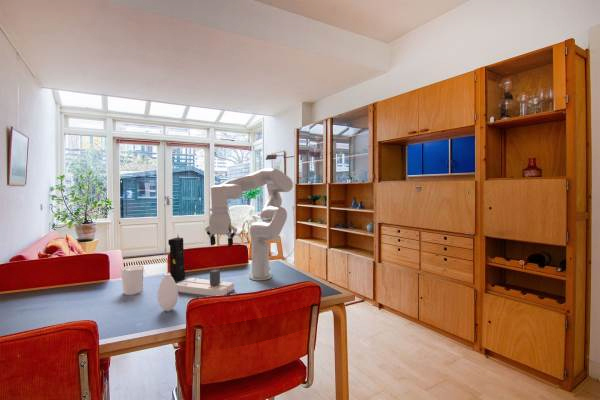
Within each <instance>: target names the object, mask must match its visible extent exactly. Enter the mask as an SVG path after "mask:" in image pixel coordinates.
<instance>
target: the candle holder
mask: <svg viewBox="0 0 600 400" xmlns="http://www.w3.org/2000/svg"><path fill="white" fill-rule="evenodd" d="M144 268H145V267H144V265H141V264H134V265H133V264H132V265H127V266H123V267H121V268H120V271H121V273H120V274H121V283H122V284H121V285H122V289H123V290H122V291H123V294H124V295H127V296H128V295H129V296H130V295H132V296H133V295H136V294H137V295H138V294H140V293H142V292H143V290H144V288H143V287H144V270H145V269H144Z"/></svg>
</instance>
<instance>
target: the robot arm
mask: <svg viewBox="0 0 600 400" xmlns="http://www.w3.org/2000/svg"><path fill="white" fill-rule="evenodd" d="M265 185H266V189H267V193H268V198H267V200H266V202H265V205H264V207H263V208H262V209H261V212H260V217H259V218H260V220H261V221H255V222H253V223H252V224H251V225H250V228H249V235H250V239H251V273H250V274H249V277H248V278H249V279H250V280H252V281H257V282H258V281H266V280H270V279H272V277H273V275H272V274H271V273H270V270H271V266H270V247H269V242H268V241H275V240H277V238H279V236H280V234H281V232H282V230H283V228H284V226H285V224H286V222H287V219H288V213H287V209H286V208H285V207H283V206H282V204H283V199H282V196H281V194H280V193H289V192H290V191H291V190H292V189H293V187H294V183H293V181H292V178H290V177H289V176H288V175H287V174H285V173H284V172H282V171H281V170H279V169H277V168H274V167H273V168H262V169H259V170H257V171H254V172H251V173H250V174H248V175H244V176H240V177H237V178H234V179H230V180H227V181H225V182H223V183H221V184H218V185H217V184H216V185H212V186H211V188H210V198H211V208H210V209H209V211H211V213H210V217H209V224H208V225H209V226H206V227H205V228H204V230H205V232H206V234H207V235H208V238H209V240H210V241H209V243H210V246H214V245H216V236H215V235H220V236H221V235H222V236H225V235H226V236H227V237H228V238H227V247H229V248H230V247H232V246H233V244H234V237H235V236H236V235H237V231H238V228H236V227H235V226H233V225H232V219H231V216H230V213H229V206H228V203H229V202H228V201H229V200H237V199H240V198H241V197H242V196H243V193H244V192H250V191H253V190H254V191H255V190H256V189H258V188H260V187H262V186H265Z"/></svg>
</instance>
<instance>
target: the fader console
mask: <svg viewBox="0 0 600 400" xmlns="http://www.w3.org/2000/svg"><path fill="white" fill-rule="evenodd" d="M176 286H177V289H178V295H179V294H180V295H187V296H193V295H194V296H193V297H195V296H196V297H202V298H205V297H204V296H216V295H226V294H228V295H230V294H232V293H233V292H235V282H231V281H224V280H220V284H218V285H217V286H211V285H210V279H205V278H204V279H202V278H197V277H188V278H186V279H184V280H182V281H178V282H177V283H176ZM232 291H233V292H232Z"/></svg>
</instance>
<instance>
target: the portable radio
mask: <svg viewBox="0 0 600 400" xmlns="http://www.w3.org/2000/svg"><path fill="white" fill-rule="evenodd" d="M167 242H168V246H169V258H170V260H169V265H170V267H169V268H170V270H169V271H170V273H169V274H171V276H172V278H173V279H174V281H175V282H180V281H182V280H183V279H185V278H186V269H185V268H186V267H185V258H184V257H185V256H184V254H185V252H184V250H185V249H184V237H180V236H179V235H177V237H174V238H170V239H168V240H167Z"/></svg>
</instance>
